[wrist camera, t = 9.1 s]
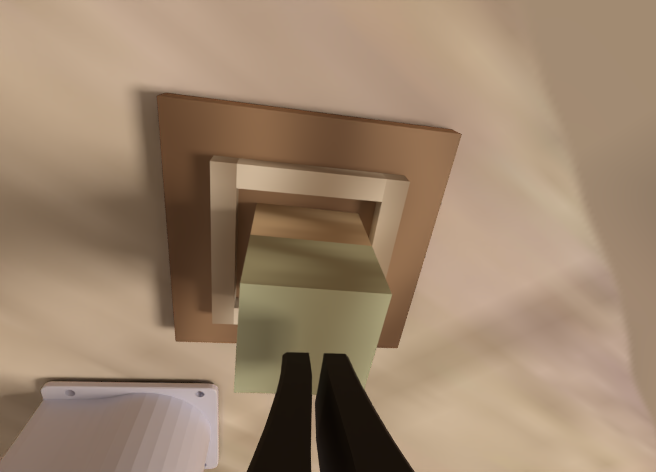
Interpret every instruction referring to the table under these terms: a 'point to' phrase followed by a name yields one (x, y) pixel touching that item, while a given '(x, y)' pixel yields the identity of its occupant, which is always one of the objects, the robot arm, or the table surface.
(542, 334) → the table surface
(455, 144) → the plate
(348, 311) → the stack
